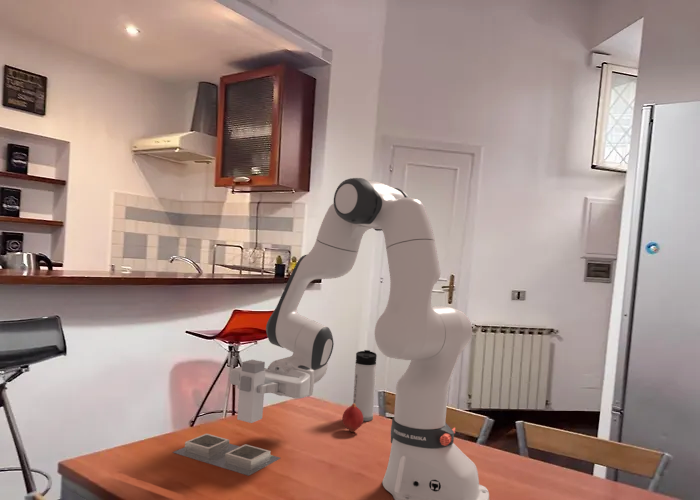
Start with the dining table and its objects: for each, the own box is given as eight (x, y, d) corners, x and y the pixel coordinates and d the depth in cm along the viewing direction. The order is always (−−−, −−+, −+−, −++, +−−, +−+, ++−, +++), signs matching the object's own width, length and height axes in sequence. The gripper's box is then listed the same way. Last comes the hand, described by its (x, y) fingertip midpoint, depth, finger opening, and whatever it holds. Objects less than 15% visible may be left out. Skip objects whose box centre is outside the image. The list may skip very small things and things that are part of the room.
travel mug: (373, 415, 164) (377, 350, 164) (372, 422, 158) (376, 354, 158) (353, 413, 165) (357, 349, 165) (351, 420, 158) (355, 353, 158)
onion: (338, 429, 150) (340, 400, 150) (356, 427, 152) (358, 399, 152) (346, 436, 144) (348, 406, 145) (365, 434, 147) (367, 405, 147)
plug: (262, 418, 122) (266, 361, 122) (249, 424, 118) (253, 365, 118) (248, 415, 124) (252, 359, 124) (234, 420, 120) (238, 362, 120)
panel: (280, 462, 124) (281, 449, 124) (248, 480, 114) (249, 466, 114) (207, 441, 134) (208, 429, 134) (172, 456, 124) (173, 443, 124)
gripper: (251, 357, 138) (214, 366, 125) (319, 370, 128) (287, 381, 116) (249, 382, 138) (213, 393, 125) (318, 396, 128) (285, 410, 116)
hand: (249, 387), depth 121 cm, fingers closed on plug, 4 cm apart
